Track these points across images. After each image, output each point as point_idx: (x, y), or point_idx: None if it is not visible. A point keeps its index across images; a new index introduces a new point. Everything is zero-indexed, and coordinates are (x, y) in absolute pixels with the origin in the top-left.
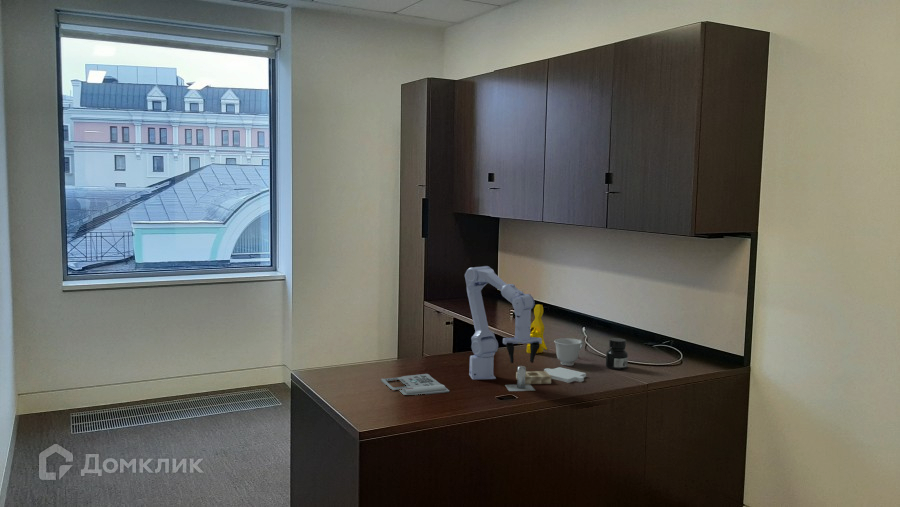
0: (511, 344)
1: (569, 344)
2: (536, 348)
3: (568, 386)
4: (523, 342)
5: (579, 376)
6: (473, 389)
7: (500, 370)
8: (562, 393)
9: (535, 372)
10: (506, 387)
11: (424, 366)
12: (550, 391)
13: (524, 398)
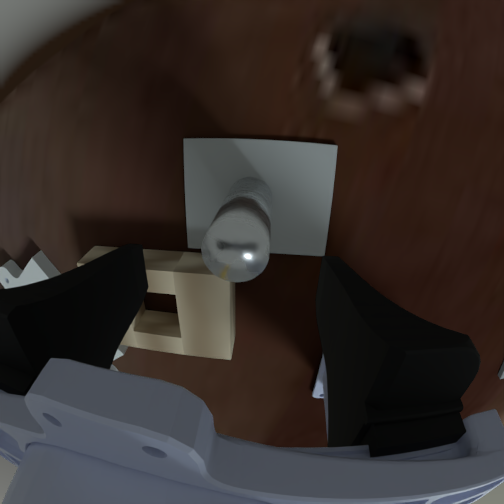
0: (392, 425)
1: None
2: (13, 292)
3: (38, 207)
4: (162, 380)
5: (7, 283)
6: (475, 222)
7: (264, 417)
8: (70, 102)
9: (141, 333)
10: (330, 211)
11: None
12: (112, 132)
13: (283, 20)
